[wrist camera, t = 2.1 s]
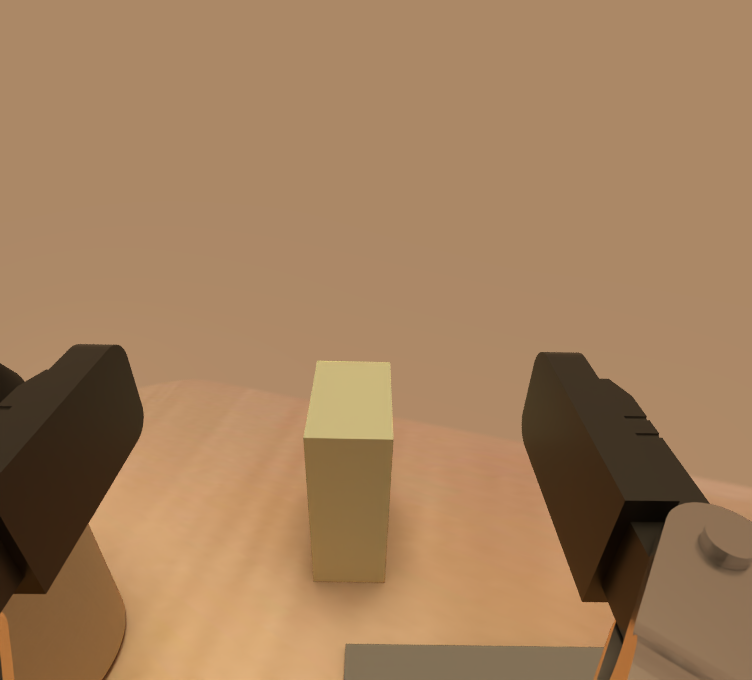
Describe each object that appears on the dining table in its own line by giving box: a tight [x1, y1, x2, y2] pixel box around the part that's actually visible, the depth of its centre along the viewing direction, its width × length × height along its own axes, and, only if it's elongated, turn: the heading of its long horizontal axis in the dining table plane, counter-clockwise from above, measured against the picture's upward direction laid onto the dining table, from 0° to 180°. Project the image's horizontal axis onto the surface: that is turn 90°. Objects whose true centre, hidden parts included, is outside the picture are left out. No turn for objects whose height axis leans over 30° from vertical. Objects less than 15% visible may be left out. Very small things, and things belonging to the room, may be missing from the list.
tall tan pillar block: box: [303, 361, 393, 583], centre depth 27 cm, size 4×6×11 cm, turn 0°
